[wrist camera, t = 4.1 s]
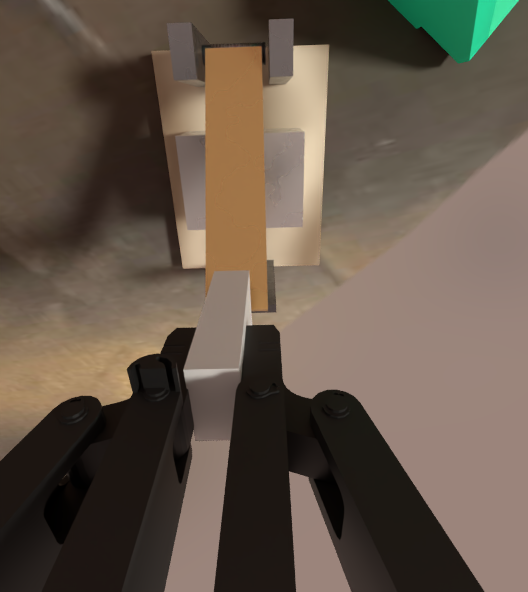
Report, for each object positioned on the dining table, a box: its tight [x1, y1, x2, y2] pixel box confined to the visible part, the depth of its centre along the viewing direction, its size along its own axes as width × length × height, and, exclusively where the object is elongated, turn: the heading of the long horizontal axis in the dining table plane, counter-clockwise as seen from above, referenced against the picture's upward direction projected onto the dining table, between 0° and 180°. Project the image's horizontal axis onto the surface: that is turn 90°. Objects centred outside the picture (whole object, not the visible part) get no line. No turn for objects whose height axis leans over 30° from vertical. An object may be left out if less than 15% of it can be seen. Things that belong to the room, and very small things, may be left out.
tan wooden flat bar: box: [201, 42, 268, 311], centre depth 19 cm, size 3×14×1 cm
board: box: [151, 45, 329, 269], centre depth 29 cm, size 12×16×1 cm
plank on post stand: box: [167, 19, 305, 313], centre depth 25 cm, size 8×16×8 cm, turn 2°
